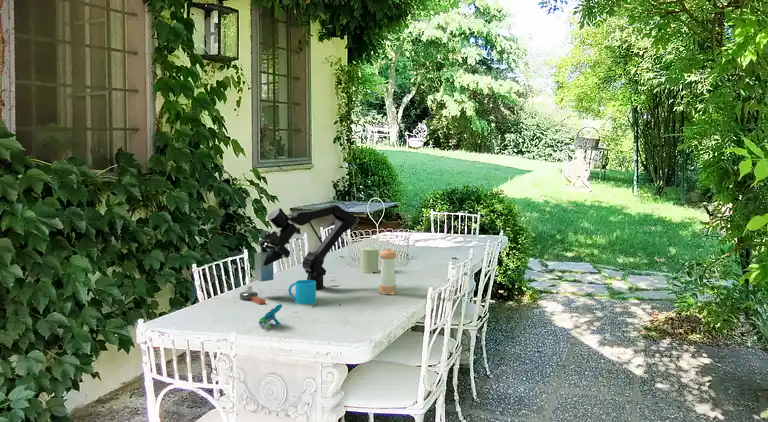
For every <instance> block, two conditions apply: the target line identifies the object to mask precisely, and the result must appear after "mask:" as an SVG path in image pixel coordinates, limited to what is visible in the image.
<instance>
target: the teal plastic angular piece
mask: <svg viewBox="0 0 768 422" xmlns="http://www.w3.org/2000/svg"><path fill="white" fill-rule="evenodd" d="M282 308H283V304H281V303H279V304H277V305H276V306H274V307H273V308H271V309H270V310H269V311H268V312H266V314H265V315H264V316H263V317H261V318H259V321H258V324H259V325H260V326H261V325H265V326H266V327H267V328H268V329H269V328H271V329H272V326H271V325H270V324H269V323H270V322H271V321H274V323H275V324H276V325H277V326H278V325H279V326H280V325H281V323H280V321H279V320H278V319H277V318H276V313H278V312H279V311H280V310H281V309H282Z"/></svg>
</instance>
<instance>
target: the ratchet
mask: <svg viewBox="0 0 768 422" xmlns="http://www.w3.org/2000/svg"><path fill="white" fill-rule="evenodd" d="M239 299H240V300H241V301H251V302H253V303H255V304H257V305H264V304H266V299H265V298H263V297H260V296H259V293H258V292H257V291H253V286H252V285H246V286H245V289H244V291H243V292H240V293H239Z"/></svg>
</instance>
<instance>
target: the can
mask: <svg viewBox="0 0 768 422" xmlns="http://www.w3.org/2000/svg"><path fill="white" fill-rule="evenodd" d="M378 271H379V248H378V247H372V246H370V247H368V246H367V247H361V248H360V271H359V272H360V273H362V272H364V274H374V273H373V272H377V273H379V272H378Z"/></svg>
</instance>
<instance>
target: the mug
mask: <svg viewBox="0 0 768 422" xmlns="http://www.w3.org/2000/svg"><path fill="white" fill-rule="evenodd" d="M294 286H295V296H294V295H293V293H292V289H293V287H294ZM288 294H289V297H291V298H292V299H294V301H295V304H297V303H298V304H297V305H312V304H313V305H314V304H316V303H317V290H316V281H313V280H307V279H300V280H296V281H295V282H294V283H291V284H290V285H289V287H288ZM315 302H316V303H315Z"/></svg>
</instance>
